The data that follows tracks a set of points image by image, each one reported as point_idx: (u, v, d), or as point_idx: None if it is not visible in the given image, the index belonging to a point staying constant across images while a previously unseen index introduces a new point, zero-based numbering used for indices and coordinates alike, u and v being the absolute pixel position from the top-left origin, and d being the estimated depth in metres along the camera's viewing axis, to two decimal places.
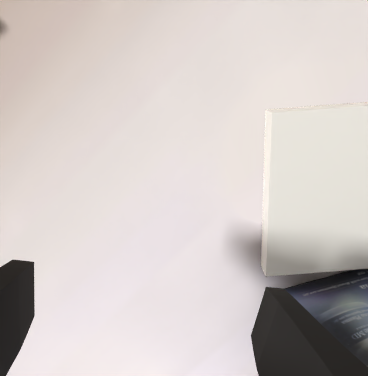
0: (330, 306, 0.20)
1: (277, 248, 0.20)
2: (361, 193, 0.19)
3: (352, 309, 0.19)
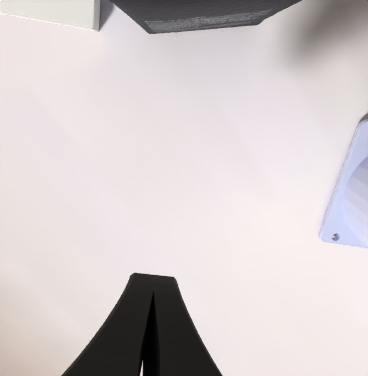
0: None
1: (48, 5, 0.15)
2: None
3: None
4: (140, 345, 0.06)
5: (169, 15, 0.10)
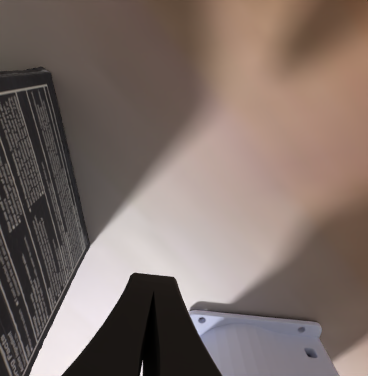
0: None
1: None
2: None
3: None
4: (140, 345, 0.06)
5: None
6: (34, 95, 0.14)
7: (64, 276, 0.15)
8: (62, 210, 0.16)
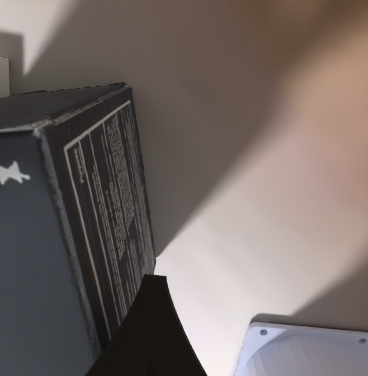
0: None
1: None
2: None
3: None
4: (158, 347, 0.06)
5: None
6: (124, 113, 0.13)
7: None
8: (142, 228, 0.15)
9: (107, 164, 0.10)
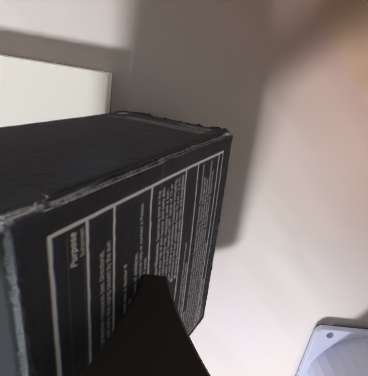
0: None
1: None
2: None
3: None
4: (155, 346, 0.06)
5: None
6: (205, 167, 0.12)
7: None
8: (189, 288, 0.14)
9: (141, 233, 0.09)
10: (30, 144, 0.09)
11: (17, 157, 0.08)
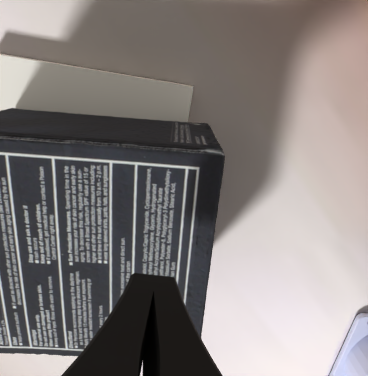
0: None
1: None
2: None
3: None
4: (140, 345, 0.06)
5: None
6: (153, 173, 0.11)
7: None
8: None
9: (44, 191, 0.12)
10: (48, 119, 0.14)
11: (20, 120, 0.13)
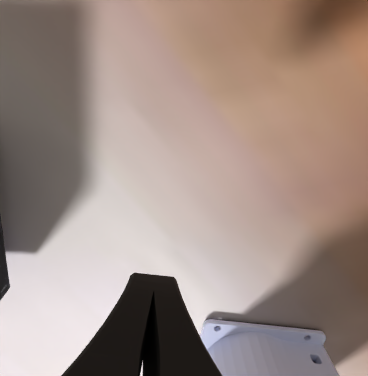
0: None
1: None
2: None
3: None
4: (140, 345, 0.06)
5: None
6: None
7: None
8: None
9: None
10: None
11: None
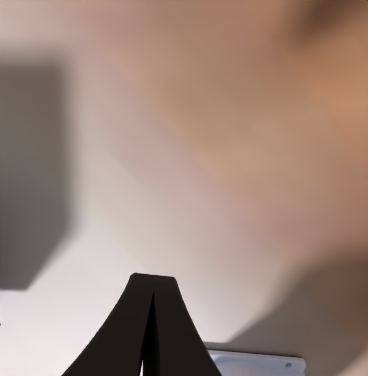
0: None
1: None
2: None
3: None
4: (140, 345, 0.06)
5: None
6: None
7: None
8: None
9: None
10: None
11: None
